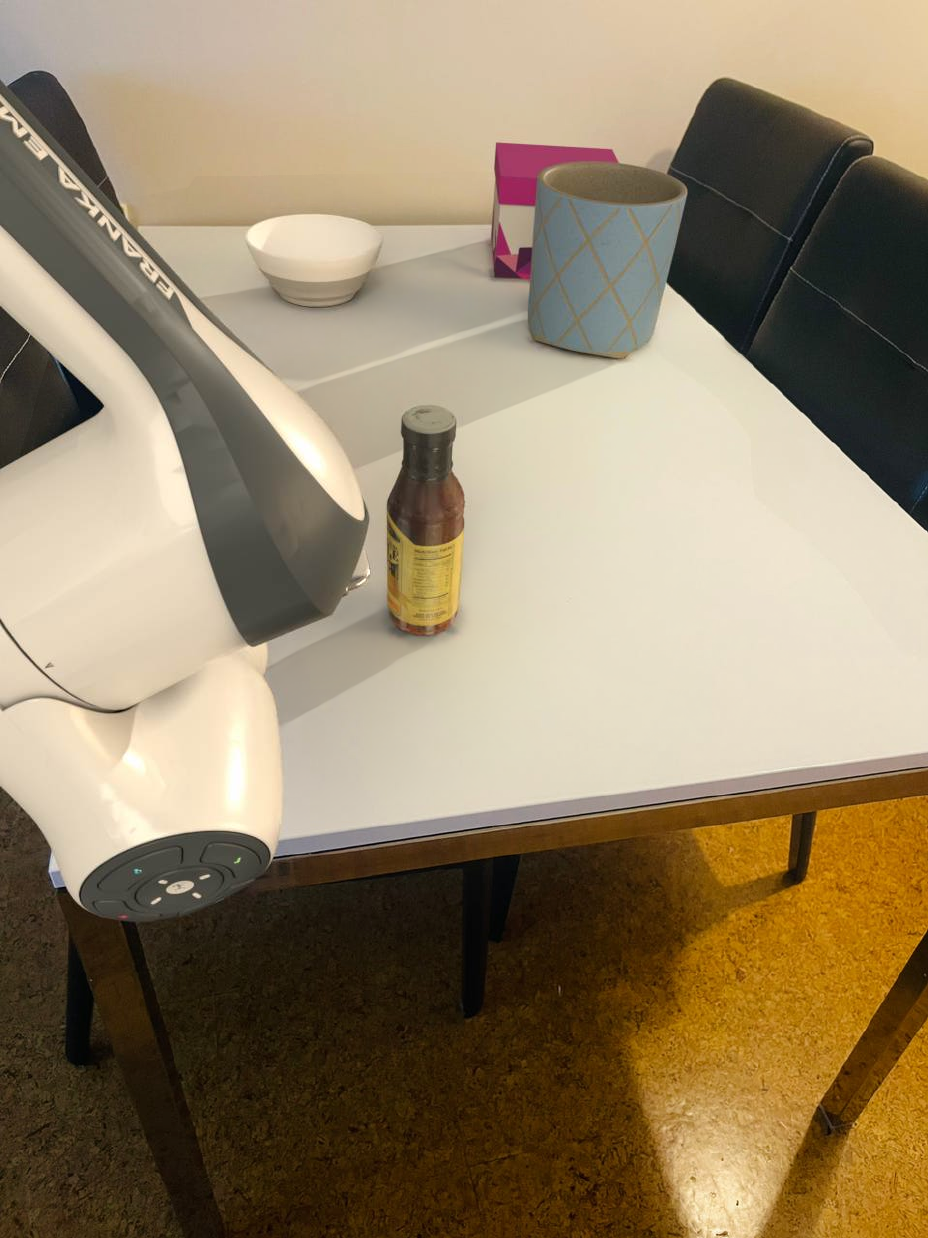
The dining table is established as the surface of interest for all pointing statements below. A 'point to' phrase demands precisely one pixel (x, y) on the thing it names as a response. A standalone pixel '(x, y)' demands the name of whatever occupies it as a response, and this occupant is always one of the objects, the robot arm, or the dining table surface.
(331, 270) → the bowl
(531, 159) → the decorative box
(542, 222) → the planter
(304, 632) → the dining table surface
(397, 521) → the sauce bottle
